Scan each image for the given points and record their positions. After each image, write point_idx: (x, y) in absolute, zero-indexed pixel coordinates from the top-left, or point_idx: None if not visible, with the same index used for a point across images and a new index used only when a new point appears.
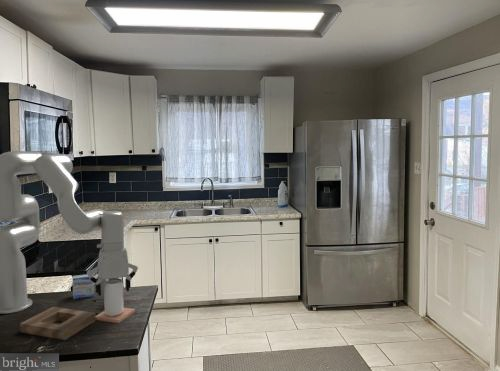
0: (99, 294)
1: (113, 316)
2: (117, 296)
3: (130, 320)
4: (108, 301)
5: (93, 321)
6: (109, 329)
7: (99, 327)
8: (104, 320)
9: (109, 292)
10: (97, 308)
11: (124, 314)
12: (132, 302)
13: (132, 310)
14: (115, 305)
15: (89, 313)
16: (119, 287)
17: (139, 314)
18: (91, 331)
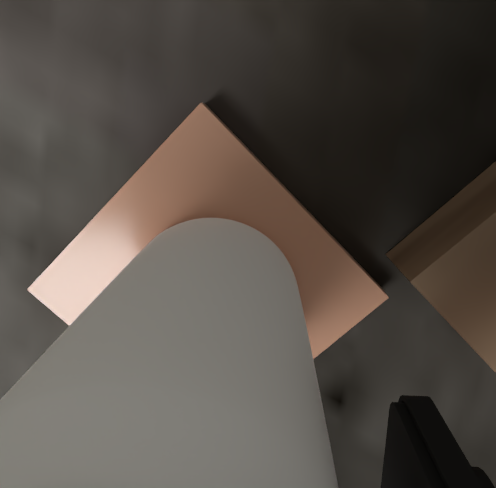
0: (423, 405)
1: None
2: (135, 290)
3: (98, 114)
4: (275, 294)
5: (403, 242)
6: (305, 5)
7: (378, 101)
8: (313, 218)
9: (256, 357)
10: None
11: (132, 216)
12: None
13: (54, 269)
14: (196, 244)
15: (460, 294)
16: (19, 390)
17: (10, 206)
18: (462, 47)
